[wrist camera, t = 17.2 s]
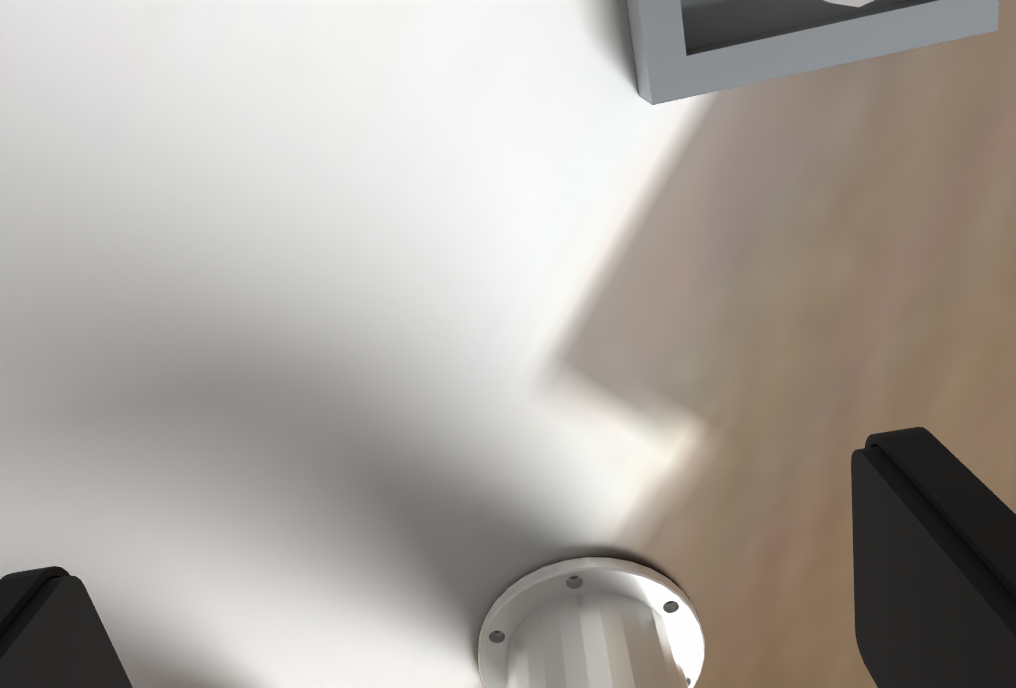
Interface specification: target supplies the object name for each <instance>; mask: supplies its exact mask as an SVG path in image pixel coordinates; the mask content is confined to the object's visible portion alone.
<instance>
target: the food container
mask: <svg viewBox="0 0 1016 688" xmlns="http://www.w3.org/2000/svg"><path fill="white" fill-rule="evenodd" d="M824 1H827V2H830V3H835V4H841V5H848V6H854V7H861V6H863V5H865V4H867V3H870V2H872V1H874V0H824Z"/></svg>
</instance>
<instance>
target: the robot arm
mask: <svg viewBox="0 0 1016 688" xmlns="http://www.w3.org/2000/svg"><path fill="white" fill-rule="evenodd" d="M851 475H852V517H853V559H854V602H855V633H856V639H857V644H858V648H859V651H860V654H861V657H862V659H863V661H864V663H865V665H866V667H867V669H868V671H869V673H870V674H871V676H872V678H873V680H874V681H875V683H876V685H877V687H878V688H1016V514H1015V513H1014V512H1013V511H1012V510H1010V509H1009V508H1008V507H1007V506H1006V505H1005V504H1004V503H1003V502H1002V501H1001V500H1000V499H999V498H998V497H997V496H996V495H995V494H994V493H993V492H992V491H991V490H990V489H989V488H987V487H986V486H985V485H984V484H983V483H982V482H981V481H980V480H979V479H978V478H977V477H976V476H975V475H974V474H973V473H972V472H971V471H970V470H969V469H968V468H967V467H966V466H964V465H963V464H962V463H961V462H960V461H959V460H958V459H957V458H956V457H955V456H954V455H953V454H952V453H951V452H950V451H949V450H948V449H947V448H946V447H945V446H944V445H943V444H942V443H940V442H939V441H938V440H937V439H936V438H935V437H934V436H933V435H932V434H931V433H930V432H929V431H928V430H926V429H925V428H923V427H914V428H908V429H902V430H896V431H890V432H883V433H877V434H871V435H870V436H869V437H868V438H867V440H866V443H865V448H864V449H858V450H855V451H854V452H853V454H852V458H851ZM704 658H705V639H704V635H703V632H702V628H701V625H700V621H699V619H698V616H697V614H696V611H695V609H694V606H693V605H692V603H691V602H690V600H689V599H688V598H687V596H686V595H685V594H684V592H683V591H682V590H681V589H680V588H679V587H677V586H676V585H675V584H674V583H673V582H672V581H671V580H669V579H668V578H667V577H665V576H663V575H661V574H660V573H658V572H656V571H654V570H653V569H651V568H648V567H645V566H642V565H640V564H637V563H634V562H631V561H626V560H620V559H614V558H600V557H586V558H578V559H571V560H564V561H561V562H558V563H554V564H551V565H548V566H544V567H542V568H540V569H538V570H536V571H534V572H532V573H530V574H528V575H526V576H524V577H523V578H521V579H520V580H518V581H517V582H516V583H514V584H513V585H511V586H510V587H509V588H507V589H506V591H505V592H504V593H503V594H502V595H501V596H500V597H499V598H498V599H497V600H496V601H495V602H494V604H493V605H492V607H491V609H490V610H489V612H488V614H487V615H486V617H485V619H484V622H483V625H482V628H481V631H480V635H479V647H478V664H479V672H480V675H481V679H482V682H483V685H484V687H485V688H694V686H695V684H696V682H697V680H698V678H699V676H700V674H701V671H702V666H703V662H704ZM0 688H132V685H131V683H130V681H129V679H128V677H127V675H126V673H125V671H124V669H123V666H122V664H121V662H120V660H119V658H118V656H117V654H116V652H115V649H114V647H113V645H112V643H111V641H110V639H109V637H108V635H107V633H106V630H105V628H104V626H103V624H102V622H101V620H100V618H99V616H98V613H97V611H96V609H95V607H94V605H93V603H92V601H91V599H90V597H89V594H88V592H87V590H86V588H85V586H84V584H83V583H82V581H81V580H80V579H79V578H77V577H76V576H70V575H69V573H68V572H67V571H66V570H64V569H63V568H62V567H56V566H53V567H47V568H40V569H34V570H28V571H22V572H16V573H11V574H8V575H5V576H4V577H3V578H2V579H0Z"/></svg>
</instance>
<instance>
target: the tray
mask: <svg viewBox="0 0 1016 688" xmlns="http://www.w3.org/2000/svg"><path fill="white" fill-rule="evenodd" d="M626 3H627V10H628V17H629V24H630V31H631V39H632V46H633V53H634V60H635V68H636V75H637V82H638V89H639V96H640V97H641V98H643V99H644V100H646V101H647V102H649V103H650V104H652V105H655V104H659V103H664V102H669V101H673V100H678V99H682V98H687V97H692V96H696V95H701V94H706V93H710V92H715V91H719V90H724V89H729V88H733V87H738V86H743V85H747V84H752V83H756V82H761V81H766V80H770V79H775V78H779V77H784V76H789V75H793V74H798V73H803V72H807V71H812V70H816V69H821V68H826V67H830V66H835V65H840V64H844V63H849V62H853V61H858V60H863V59H867V58H872V57H876V56H881V55H886V54H890V53H895V52H900V51H904V50H909V49H913V48H918V47H923V46H927V45H932V44H937V43H941V42H946V41H950V40H955V39H960V38H964V37H969V36H973V35H978V34H983V33H987V32H992V31H997V30H998V10H999V0H874V1H872V2H870V3H867V4H865V5H863V6H861V7H854V6H848V5H841V4H835V3H830V2H827V1H824V0H626Z"/></svg>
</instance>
